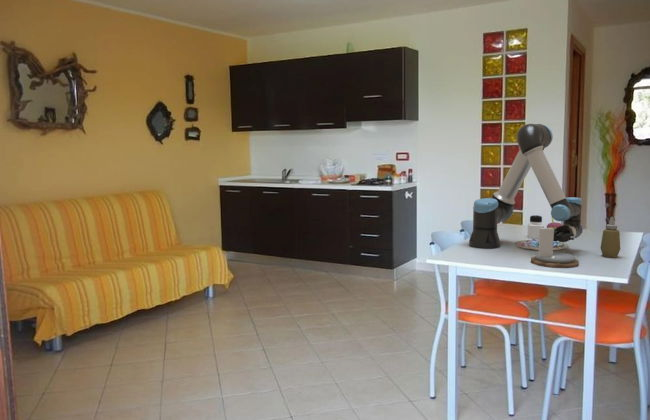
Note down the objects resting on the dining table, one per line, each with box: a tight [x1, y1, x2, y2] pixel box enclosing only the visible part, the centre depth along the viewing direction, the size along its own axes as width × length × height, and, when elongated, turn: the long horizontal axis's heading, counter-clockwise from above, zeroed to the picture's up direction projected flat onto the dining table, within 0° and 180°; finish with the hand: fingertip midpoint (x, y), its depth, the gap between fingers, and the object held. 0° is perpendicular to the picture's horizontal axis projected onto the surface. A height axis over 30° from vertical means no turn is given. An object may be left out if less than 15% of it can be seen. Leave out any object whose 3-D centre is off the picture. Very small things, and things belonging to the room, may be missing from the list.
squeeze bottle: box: [599, 216, 621, 258], centre depth 251 cm, size 8×8×18 cm
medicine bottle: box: [527, 214, 545, 240], centre depth 302 cm, size 7×7×12 cm
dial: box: [534, 227, 576, 263], centre depth 238 cm, size 16×16×14 cm
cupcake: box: [546, 217, 563, 231], centre depth 310 cm, size 9×8×12 cm
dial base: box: [530, 255, 580, 269], centre depth 239 cm, size 19×19×2 cm
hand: (546, 240), depth 238 cm, fingers closed
